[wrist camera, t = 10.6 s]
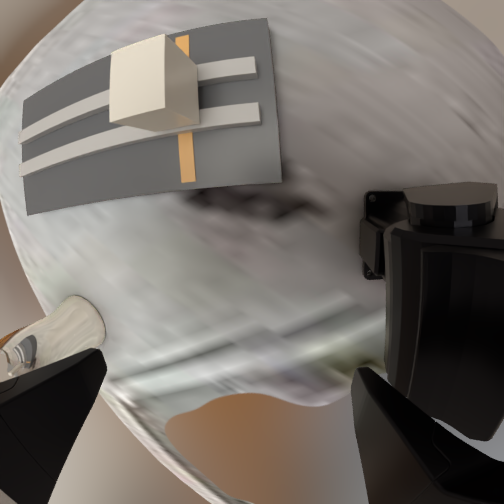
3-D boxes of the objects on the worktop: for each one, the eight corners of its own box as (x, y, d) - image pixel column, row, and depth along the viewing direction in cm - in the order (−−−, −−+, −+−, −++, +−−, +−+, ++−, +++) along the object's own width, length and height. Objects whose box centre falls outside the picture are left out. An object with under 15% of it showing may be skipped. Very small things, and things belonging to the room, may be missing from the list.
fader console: (269, 30, 16) (265, 9, 13) (282, 181, 19) (281, 183, 16) (36, 102, 19) (15, 100, 16) (40, 212, 22) (18, 218, 19)
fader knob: (202, 71, 15) (164, 33, 9) (204, 126, 16) (164, 107, 10) (160, 80, 16) (111, 52, 10) (162, 133, 17) (109, 122, 11)
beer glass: (87, 354, 27) (11, 437, 12) (53, 305, 26) (-37, 373, 11) (120, 337, 25) (31, 439, 11) (81, 280, 24) (-32, 357, 9)
